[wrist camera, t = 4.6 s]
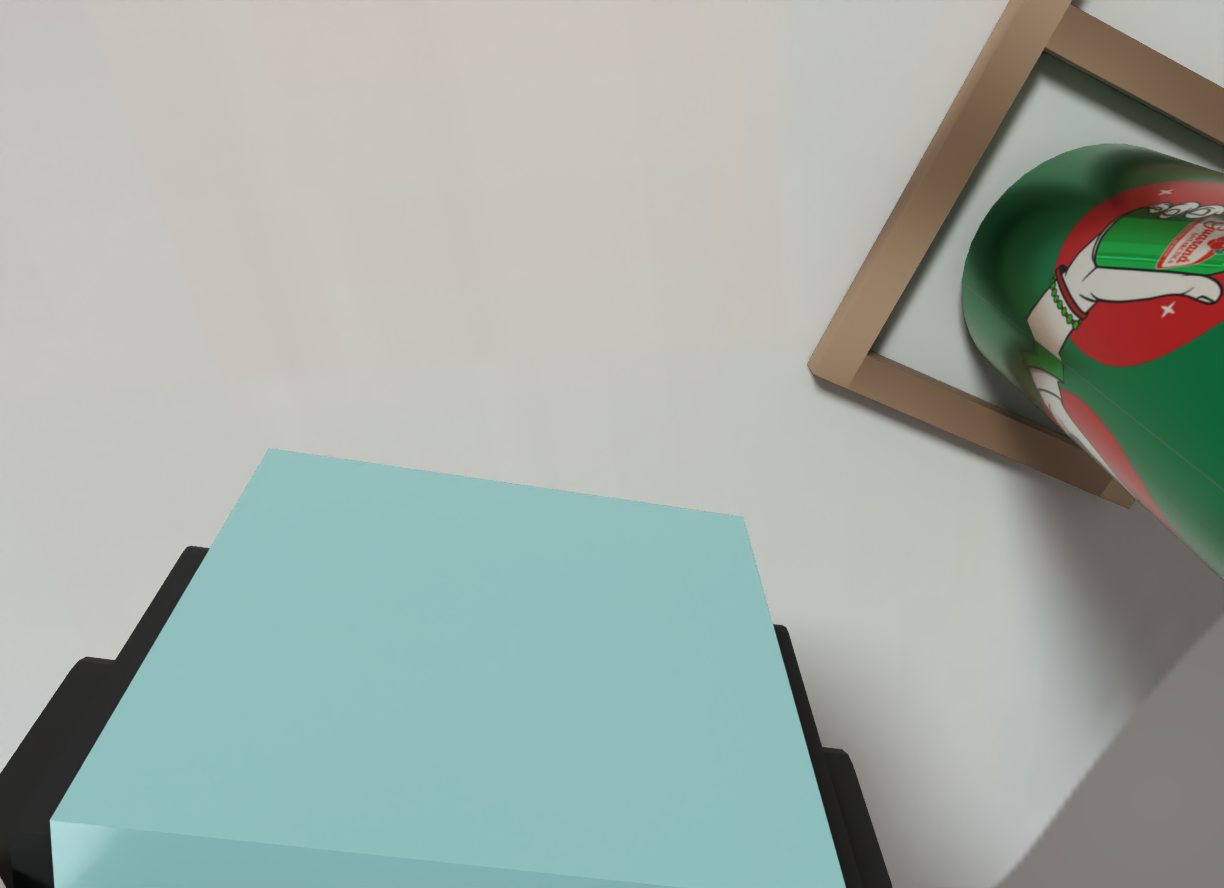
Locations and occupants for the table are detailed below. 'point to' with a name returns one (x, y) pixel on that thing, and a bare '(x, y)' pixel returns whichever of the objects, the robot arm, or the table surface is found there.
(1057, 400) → the soda can
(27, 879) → the robot arm
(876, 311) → the wooden frame
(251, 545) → the die
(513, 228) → the table surface
